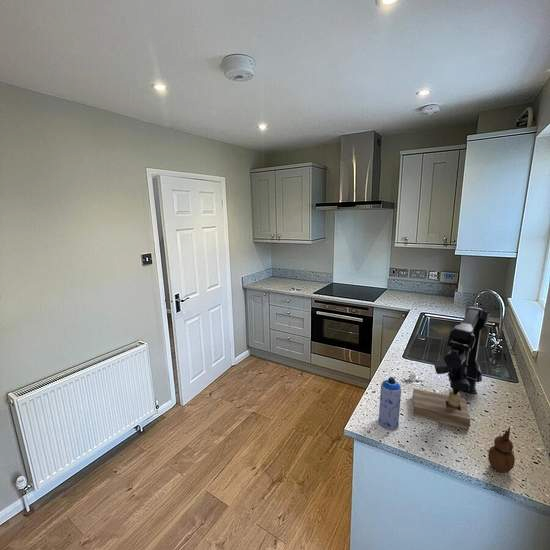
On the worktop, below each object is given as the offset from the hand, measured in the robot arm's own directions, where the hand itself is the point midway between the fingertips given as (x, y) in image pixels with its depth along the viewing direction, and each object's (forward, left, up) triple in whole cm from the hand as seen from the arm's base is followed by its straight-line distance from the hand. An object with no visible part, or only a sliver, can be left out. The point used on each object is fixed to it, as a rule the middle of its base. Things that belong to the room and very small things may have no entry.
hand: (454, 393), depth 121 cm
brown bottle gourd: (+24, +11, -10) cm, 28 cm away
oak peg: (0, 0, -9) cm, 9 cm away
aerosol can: (+16, -24, -10) cm, 31 cm away
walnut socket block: (0, -5, -10) cm, 11 cm away
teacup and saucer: (-21, -13, -11) cm, 26 cm away
